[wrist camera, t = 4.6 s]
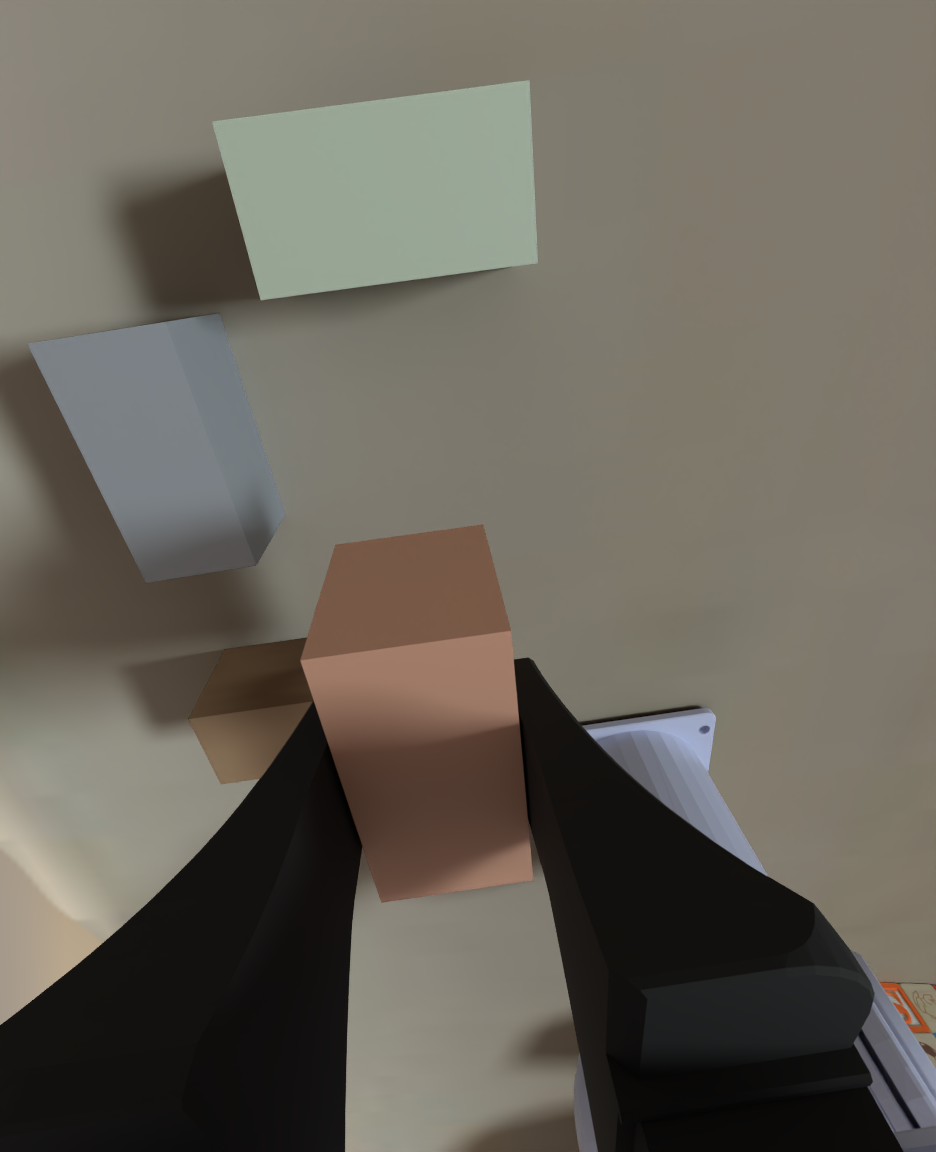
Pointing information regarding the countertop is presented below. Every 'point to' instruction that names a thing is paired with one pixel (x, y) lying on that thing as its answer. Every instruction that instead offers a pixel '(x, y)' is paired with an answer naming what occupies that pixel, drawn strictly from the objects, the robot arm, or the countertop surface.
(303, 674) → the walnut brick
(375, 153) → the sage brick
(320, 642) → the terracotta brick
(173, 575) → the slate brick
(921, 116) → the countertop surface
